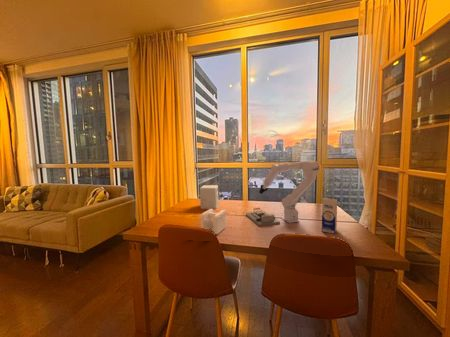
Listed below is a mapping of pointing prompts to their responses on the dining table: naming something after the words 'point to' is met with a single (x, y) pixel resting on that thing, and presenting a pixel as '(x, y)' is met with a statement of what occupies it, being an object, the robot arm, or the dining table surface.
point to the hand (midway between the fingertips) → (261, 190)
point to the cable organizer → (214, 220)
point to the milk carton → (329, 215)
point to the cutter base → (263, 219)
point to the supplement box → (209, 197)
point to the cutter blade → (258, 211)
